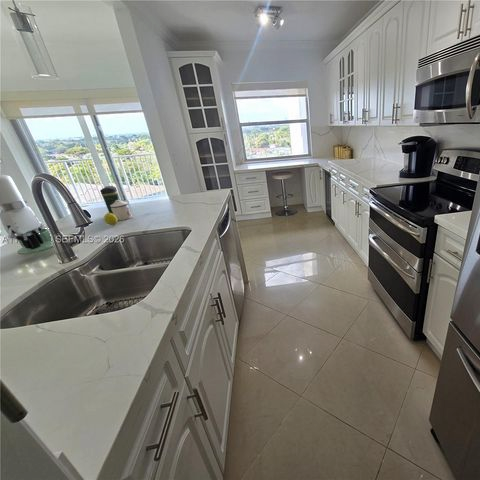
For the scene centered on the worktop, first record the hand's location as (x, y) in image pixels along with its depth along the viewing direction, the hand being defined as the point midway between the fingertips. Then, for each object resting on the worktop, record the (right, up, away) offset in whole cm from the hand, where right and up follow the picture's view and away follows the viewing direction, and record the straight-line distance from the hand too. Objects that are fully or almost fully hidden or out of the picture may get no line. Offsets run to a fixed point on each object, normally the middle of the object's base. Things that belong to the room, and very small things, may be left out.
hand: (35, 245), depth 113 cm
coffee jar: (-6, +19, +55) cm, 58 cm away
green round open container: (-9, -2, +11) cm, 15 cm away
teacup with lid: (+2, +16, +49) cm, 51 cm away
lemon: (+6, +10, +36) cm, 38 cm away
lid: (0, -1, +1) cm, 1 cm away
